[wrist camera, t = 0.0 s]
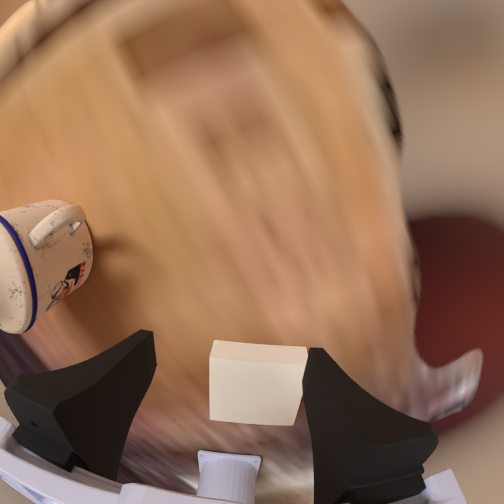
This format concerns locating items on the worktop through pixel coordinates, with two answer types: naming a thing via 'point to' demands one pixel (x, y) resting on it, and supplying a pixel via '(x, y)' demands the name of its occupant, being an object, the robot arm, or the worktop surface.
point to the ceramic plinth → (256, 382)
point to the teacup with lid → (40, 260)
